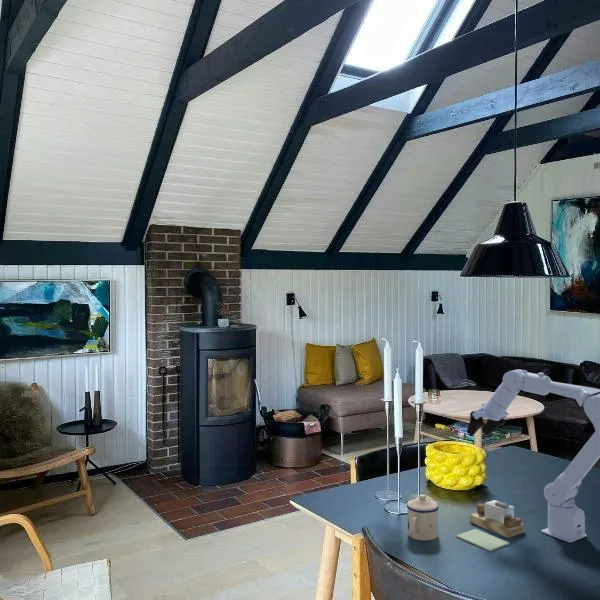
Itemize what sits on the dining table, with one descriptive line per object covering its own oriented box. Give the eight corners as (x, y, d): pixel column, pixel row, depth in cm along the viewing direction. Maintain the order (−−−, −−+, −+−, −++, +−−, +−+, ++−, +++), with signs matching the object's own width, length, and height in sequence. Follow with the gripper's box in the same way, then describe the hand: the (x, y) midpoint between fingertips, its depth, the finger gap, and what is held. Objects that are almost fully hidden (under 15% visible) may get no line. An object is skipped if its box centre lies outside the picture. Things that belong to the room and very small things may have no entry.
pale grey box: (514, 521, 183) (513, 504, 182) (504, 525, 180) (503, 507, 180) (494, 514, 188) (494, 497, 188) (484, 517, 186) (484, 500, 186)
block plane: (524, 531, 181) (523, 515, 181) (508, 537, 177) (508, 520, 177) (485, 517, 193) (485, 501, 193) (470, 522, 189) (470, 506, 189)
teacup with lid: (414, 526, 187) (413, 488, 186) (443, 532, 182) (443, 493, 181) (397, 541, 177) (397, 500, 176) (428, 548, 172) (427, 506, 171)
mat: (509, 544, 173) (509, 542, 173) (490, 551, 169) (490, 549, 169) (475, 530, 183) (475, 528, 183) (456, 537, 179) (456, 535, 179)
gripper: (506, 392, 199) (484, 423, 205) (476, 392, 191) (454, 424, 197) (521, 408, 194) (497, 439, 200) (491, 409, 186) (467, 441, 192)
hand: (477, 433), depth 198 cm, fingers open, 7 cm apart
